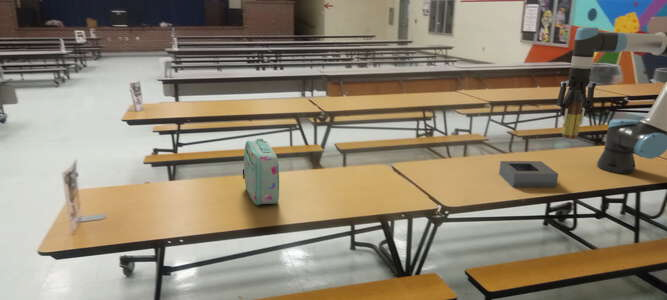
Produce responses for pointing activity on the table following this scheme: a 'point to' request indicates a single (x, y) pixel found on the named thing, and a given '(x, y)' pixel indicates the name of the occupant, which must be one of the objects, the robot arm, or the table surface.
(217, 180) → the table surface
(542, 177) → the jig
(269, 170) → the lunch box
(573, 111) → the sauce bottle
